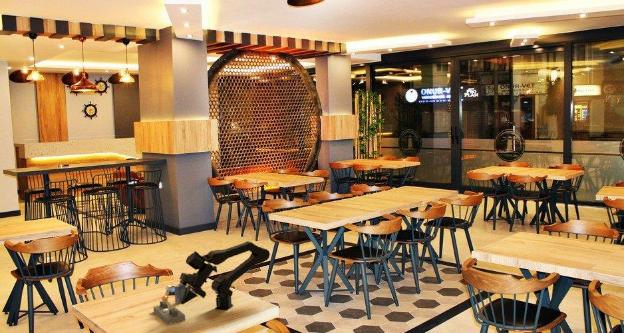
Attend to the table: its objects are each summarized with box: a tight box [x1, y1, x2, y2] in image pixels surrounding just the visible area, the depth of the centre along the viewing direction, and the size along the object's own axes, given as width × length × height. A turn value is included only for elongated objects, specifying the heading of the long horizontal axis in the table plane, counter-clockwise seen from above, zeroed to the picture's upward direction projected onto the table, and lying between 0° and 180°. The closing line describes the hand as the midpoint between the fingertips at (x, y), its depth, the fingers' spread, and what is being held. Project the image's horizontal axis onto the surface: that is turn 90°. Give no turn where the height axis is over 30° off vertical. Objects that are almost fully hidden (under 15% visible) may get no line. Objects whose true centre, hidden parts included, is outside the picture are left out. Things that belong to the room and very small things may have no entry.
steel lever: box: [162, 284, 171, 304], centre depth 262 cm, size 3×3×10 cm
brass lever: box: [161, 295, 174, 313], centre depth 250 cm, size 3×3×10 cm
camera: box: [168, 285, 175, 296], centre depth 293 cm, size 12×11×7 cm
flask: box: [173, 279, 185, 305], centre depth 276 cm, size 9×3×11 cm, turn 146°
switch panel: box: [152, 300, 186, 325], centre depth 257 cm, size 20×8×5 cm, turn 34°
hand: (181, 303), depth 253 cm, fingers closed
